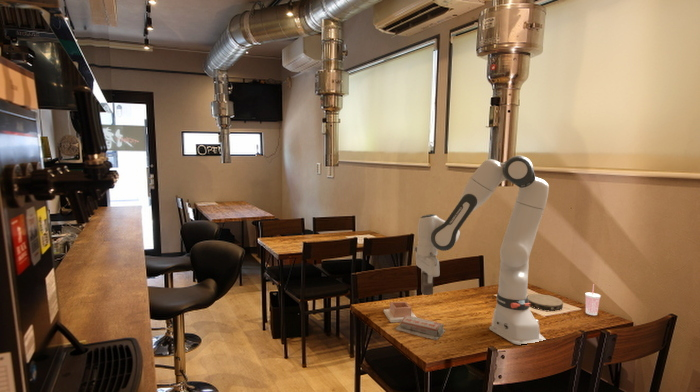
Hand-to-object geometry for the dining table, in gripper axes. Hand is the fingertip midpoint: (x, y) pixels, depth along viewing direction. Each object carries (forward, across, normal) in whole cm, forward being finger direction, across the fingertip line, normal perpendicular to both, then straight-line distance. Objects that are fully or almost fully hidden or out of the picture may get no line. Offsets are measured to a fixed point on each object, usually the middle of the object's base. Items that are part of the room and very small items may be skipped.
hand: (427, 281), depth 183 cm
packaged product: (+16, -16, +9) cm, 24 cm away
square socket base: (+15, -1, +13) cm, 20 cm away
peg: (+6, 0, 0) cm, 6 cm away
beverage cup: (+17, -9, -76) cm, 79 cm away
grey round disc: (+17, +4, -61) cm, 64 cm away
